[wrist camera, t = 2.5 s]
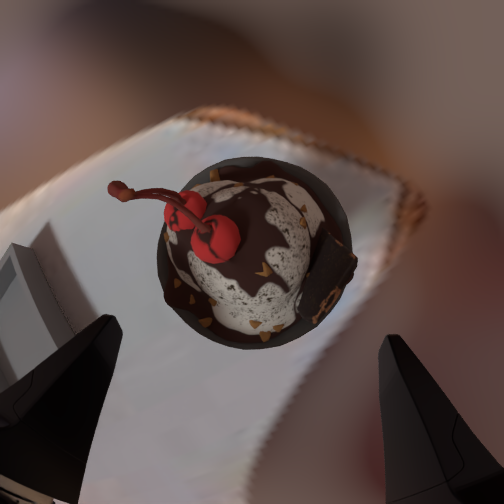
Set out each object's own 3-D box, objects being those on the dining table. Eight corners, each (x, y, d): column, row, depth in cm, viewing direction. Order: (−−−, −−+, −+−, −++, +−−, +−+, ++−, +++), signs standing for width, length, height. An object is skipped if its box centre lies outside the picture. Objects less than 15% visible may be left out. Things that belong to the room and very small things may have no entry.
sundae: (202, 257, 20) (43, 157, 5) (288, 211, 20) (285, 24, 5) (246, 344, 19) (133, 440, 4) (336, 296, 19) (472, 265, 4)
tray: (97, 371, 19) (74, 377, 17) (35, 431, 19) (17, 438, 16) (32, 249, 22) (11, 242, 19) (-16, 326, 22) (-34, 326, 19)
